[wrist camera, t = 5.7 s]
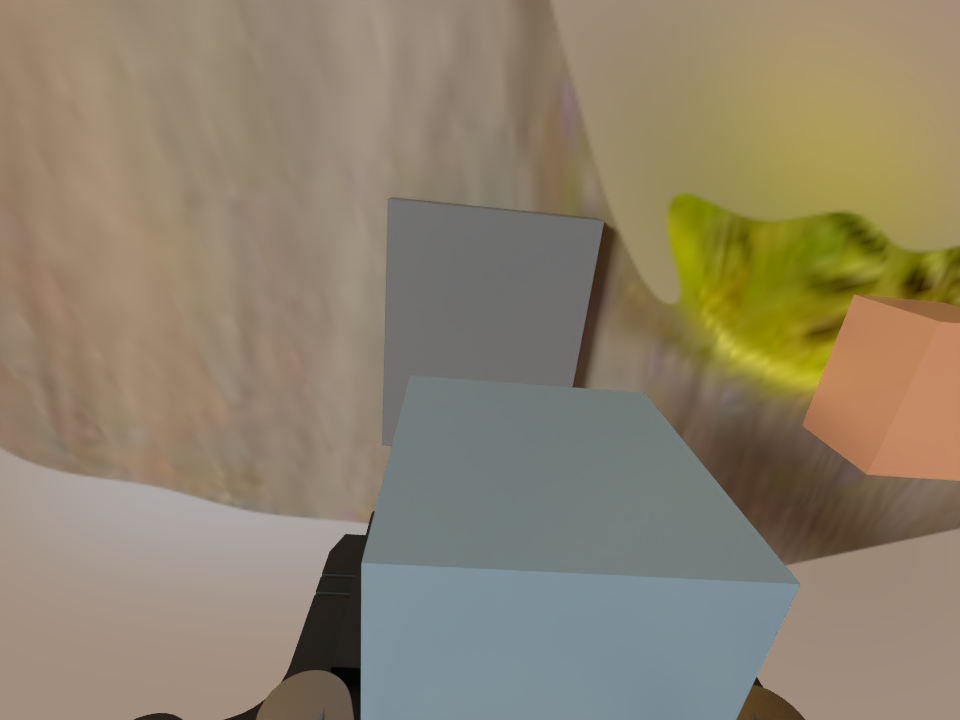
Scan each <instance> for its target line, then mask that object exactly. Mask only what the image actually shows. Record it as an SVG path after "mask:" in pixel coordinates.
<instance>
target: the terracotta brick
mask: <svg viewBox="0 0 960 720" xmlns="http://www.w3.org/2000/svg"><path fill="white" fill-rule="evenodd" d="M802 426H803V427H804V428H806V429H807V430H808V431H810V432H811V433H812V434H814V435H815V436H816V437H818V438H819V439H820V440H822V441H823V442H824V443H826V444H827V445H828V446H829V447H831V448H832V449H833V450H835V451H836V452H837V453H839V454H840V455H841V456H843V457H844V458H845V459H847V460H848V461H849V462H851V463H852V464H853V465H855V466H856V467H857V468H859V469H860V470H861V471H863V472H864V473H865V474H867V475H878V476H894V477H910V478H925V479H941V480H957V481H960V307H958V306H954V305H950V304H947V303H943V302H934V301H922V300H911V299H899V298H888V297H877V296H865V295H854V297H853V299H852V302H851V304H850V307H849V309H848V312H847V314H846V317H845V319H844V322H843V324H842V327H841V329H840V332H839V334H838V337H837V339H836V342H835V344H834V347H833V349H832V352H831V354H830V357H829V359H828V362H827V364H826V367H825V369H824V372H823V374H822V377H821V379H820V382H819V384H818V387H817V389H816V392H815V394H814V397H813V399H812V402H811V404H810V407H809V409H808V412H807V414H806V417H805V419H804V422H803V424H802Z"/></svg>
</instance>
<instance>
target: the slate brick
mask: <svg viewBox="0 0 960 720" xmlns="http://www.w3.org/2000/svg"><path fill="white" fill-rule="evenodd" d="M799 586H800V583H799V582H798V581H797V580H796V578H795V577H794V576H793V575H792V573H791V572H790V571H789V570H788V568H787V567H786V566H785V565H784V564H783V562H782V561H781V560H780V559H779V557H778V556H777V555H776V554H775V553H774V551H773V550H772V549H771V548H770V546H769V545H768V544H767V543H766V541H765V540H764V539H763V538H762V537H761V535H760V534H759V533H758V532H757V530H756V529H755V528H754V527H753V525H752V524H751V523H750V522H749V521H748V519H747V518H746V517H745V516H744V514H743V513H742V512H741V511H740V510H739V508H738V507H737V506H736V505H735V503H734V502H733V501H732V500H731V498H730V497H729V496H728V495H727V494H726V492H725V491H724V490H723V489H722V487H721V486H720V485H719V484H718V483H717V481H716V480H715V479H714V478H713V476H712V475H711V474H710V473H709V471H708V470H707V469H706V468H705V467H704V465H703V464H702V463H701V462H700V460H699V459H698V458H697V457H696V455H695V454H694V453H693V452H692V451H691V449H690V448H689V447H688V446H687V444H686V443H685V442H684V441H683V440H682V438H681V437H680V436H679V435H678V433H677V432H676V431H675V430H674V428H673V427H672V426H671V425H670V424H669V422H668V421H667V420H666V419H665V417H664V416H663V415H662V414H661V413H660V411H659V410H658V409H657V408H656V406H655V405H654V404H653V403H652V401H651V400H650V399H649V398H648V397H647V395H646V394H645V393H640V392H627V391H613V390H600V389H587V388H574V387H561V386H548V385H534V384H521V383H508V382H495V381H482V380H468V379H455V378H442V377H429V376H416V375H410V378H409V382H408V386H407V389H406V393H405V397H404V401H403V405H402V409H401V413H400V416H399V420H398V424H397V428H396V432H395V436H394V439H393V443H392V447H391V451H390V455H389V459H388V463H387V466H386V470H385V474H384V478H383V482H382V486H381V490H380V493H379V497H378V501H377V505H376V509H375V513H374V517H373V520H372V524H371V528H370V532H369V536H368V540H367V543H366V547H365V551H364V555H363V559H362V563H361V720H736V719H737V717H738V715H739V713H740V711H741V709H742V706H743V704H744V702H745V700H746V698H747V696H748V694H749V692H750V690H751V687H752V685H753V683H754V681H755V679H756V677H757V675H758V673H759V670H760V668H761V666H762V664H763V662H764V660H765V658H766V656H767V654H768V652H769V649H770V647H771V645H772V643H773V641H774V639H775V637H776V635H777V633H778V630H779V628H780V626H781V624H782V622H783V620H784V618H785V616H786V613H787V611H788V609H789V607H790V605H791V603H792V601H793V599H794V597H795V595H796V592H797V590H798V588H799Z"/></svg>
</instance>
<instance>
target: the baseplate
mask: <svg viewBox="0 0 960 720" xmlns="http://www.w3.org/2000/svg"><path fill="white" fill-rule="evenodd" d="M603 225H604V221H603V220H600V219H598V218H588V217H578V216H568V215H558V214H549V213H539V212H529V211H519V210H509V209H499V208H490V207H480V206H470V205H460V204H450V203H441V202H431V201H421V200H411V199H401V198H389V199H388V223H387V264H386V305H385V346H384V388H383V429H382V445H387V446H392V443H393V439H394V436H395V432H396V428H397V424H398V420H399V416H400V413H401V409H402V405H403V401H404V397H405V393H406V389H407V386H408V382H409V378H410V375H416V376H429V377H442V378H455V379H468V380H482V381H495V382H508V383H521V384H534V385H548V386H561V387H573V382H574V377H575V372H576V367H577V361H578V356H579V351H580V346H581V340H582V335H583V330H584V325H585V319H586V314H587V309H588V304H589V299H590V293H591V288H592V283H593V278H594V272H595V267H596V262H597V257H598V251H599V246H600V241H601V236H602V231H603Z"/></svg>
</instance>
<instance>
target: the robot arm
mask: <svg viewBox="0 0 960 720" xmlns="http://www.w3.org/2000/svg"><path fill="white" fill-rule="evenodd" d="M374 513H375V511H373V512H372V514H371V518H370V522H369V525H368V529H367V533H366V535H351V534H345V535H344V537H343V538H342V539H341V540H340V541H339V542H338V543H337V544H336V545H335V547H334V548H333V549H332V550H331V551H330V552H329V555H328V558H327V561H326V564H325V567H324V570H323V572H322V577H321V578H320V581H319V584H318V587H317V590H316V595H315V596H314V598H313V601H312V604H311V607H310V610H309V613H308V615H307V618H306V622H305V624H304V627H303V630H302V633H301V636H300V638H299V642H298V644H297V647H296V650H295V653H294V656H293V658H292V662H291V664H290V667H289V669H288V671H287V674H286V675H285V677H284V679H283V680H282V682H281V683H280V684H279V685H278V686H277V687H276V688H275V689H274V690H273V691H272V692H271V693H270V694H269V695H268V697H267V698H266V699H265V700H264V701H262V702H261V703H260V704H258V705H257V706H255V707H254V708H252V709H250V710H248V711H246V712H244V713H242V714H239V715H237V716H234V717H231V718H228V719H225V720H361V563H362V559H363V555H364V551H365V547H366V543H367V540H368V536H369V532H370V528H371V524H372V520H373V517H374ZM134 720H182V719H181V718H179V717H177V716H175V715H172V714H167V713H156V714H151V715H146V716H143V717H139V718H137V719H134ZM736 720H805V719H804V717H803V716H802V715H801V714H800V713H799V712H798V711H797V710H796V709H795V708H794V707H793V706H792V705H791V704H790V703H788V702H787V701H786V700H785V699H783V698H782V697H780V696H779V695H777V694H775V693H774V692H772V691H770V690H768V689H765V688H763V686H762V685H761V683H760V682H759V680H758V678H757V677H756V679H755V681H754V683H753V685H752V687H751V690H750V692H749V694H748V696H747V698H746V700H745V702H744V704H743V706H742V709H741V711H740V713H739V715H738V717H737V719H736Z"/></svg>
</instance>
